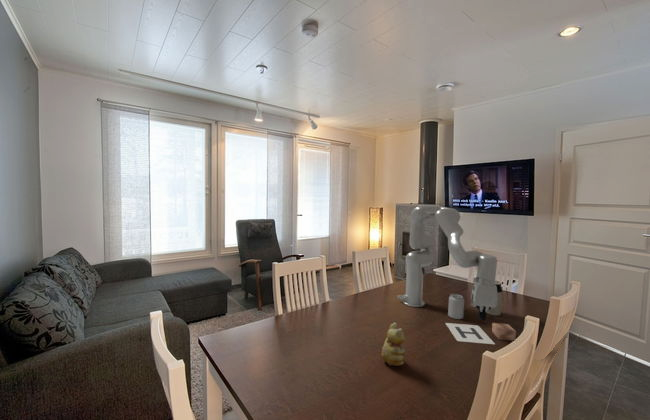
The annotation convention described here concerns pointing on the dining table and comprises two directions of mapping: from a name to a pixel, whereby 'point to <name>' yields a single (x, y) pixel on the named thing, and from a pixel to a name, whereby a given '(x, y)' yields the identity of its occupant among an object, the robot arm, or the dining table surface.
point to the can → (456, 306)
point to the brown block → (503, 331)
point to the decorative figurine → (393, 346)
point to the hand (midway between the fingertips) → (481, 318)
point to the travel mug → (497, 310)
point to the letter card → (469, 333)
